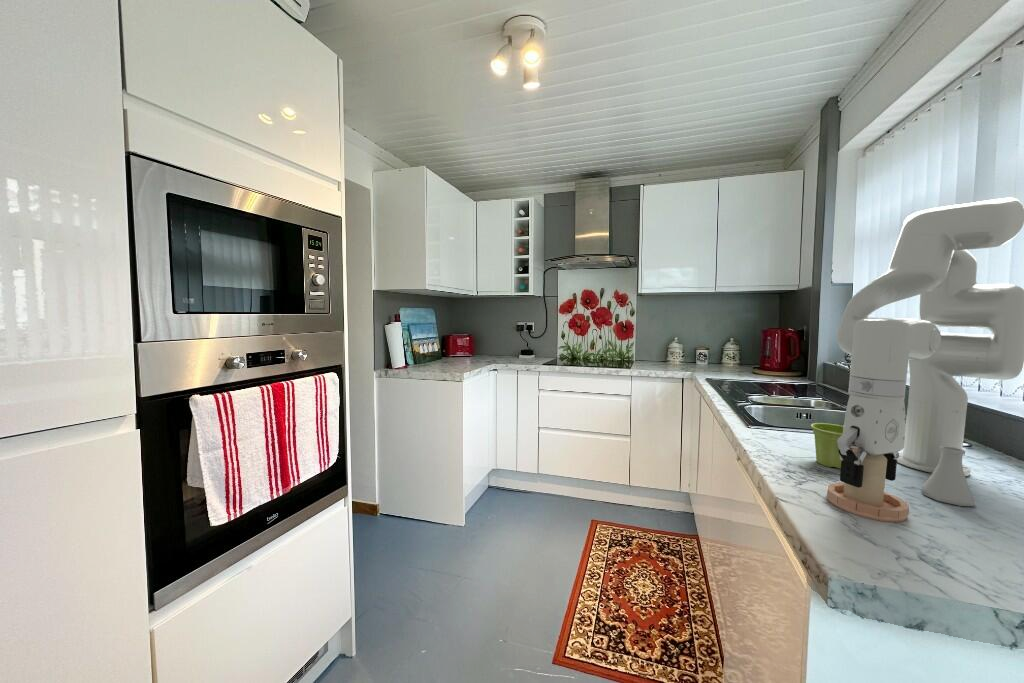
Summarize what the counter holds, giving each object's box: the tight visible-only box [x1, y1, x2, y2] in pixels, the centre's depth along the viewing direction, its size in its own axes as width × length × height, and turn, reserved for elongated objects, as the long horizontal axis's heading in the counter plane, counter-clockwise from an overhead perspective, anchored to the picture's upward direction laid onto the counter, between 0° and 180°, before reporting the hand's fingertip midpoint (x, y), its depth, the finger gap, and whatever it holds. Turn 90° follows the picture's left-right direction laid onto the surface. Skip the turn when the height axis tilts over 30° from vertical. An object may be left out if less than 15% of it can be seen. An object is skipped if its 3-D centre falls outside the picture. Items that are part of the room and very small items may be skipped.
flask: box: [920, 446, 977, 507], centre depth 78 cm, size 7×7×10 cm
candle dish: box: [826, 482, 910, 523], centre depth 74 cm, size 11×11×2 cm
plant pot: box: [810, 422, 844, 470], centre depth 95 cm, size 9×9×9 cm
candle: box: [843, 447, 887, 507], centre depth 74 cm, size 6×6×10 cm
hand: (867, 481), depth 73 cm, fingers open, 9 cm apart
